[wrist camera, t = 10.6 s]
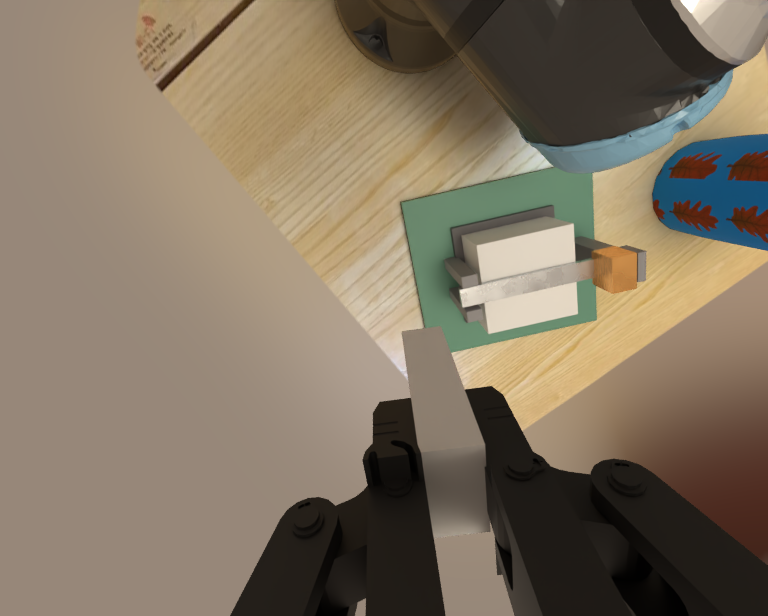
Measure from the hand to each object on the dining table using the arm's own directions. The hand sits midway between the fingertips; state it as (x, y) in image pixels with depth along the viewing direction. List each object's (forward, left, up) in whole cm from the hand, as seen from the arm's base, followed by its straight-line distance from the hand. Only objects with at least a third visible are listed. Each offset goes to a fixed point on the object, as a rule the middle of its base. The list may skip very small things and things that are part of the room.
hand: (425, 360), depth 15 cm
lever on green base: (+7, +14, -34) cm, 37 cm away
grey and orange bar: (+7, +15, -26) cm, 31 cm away
